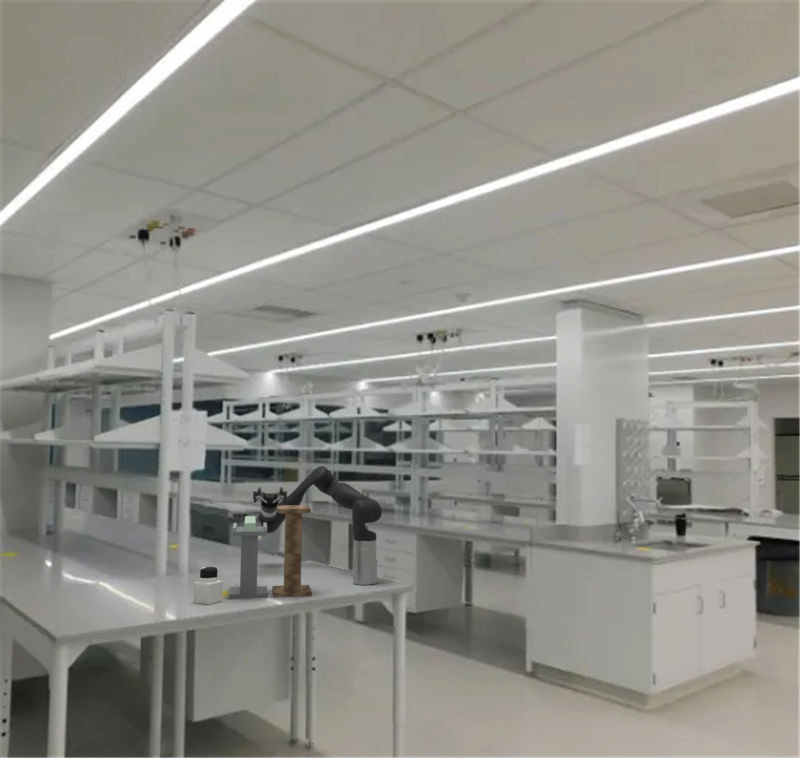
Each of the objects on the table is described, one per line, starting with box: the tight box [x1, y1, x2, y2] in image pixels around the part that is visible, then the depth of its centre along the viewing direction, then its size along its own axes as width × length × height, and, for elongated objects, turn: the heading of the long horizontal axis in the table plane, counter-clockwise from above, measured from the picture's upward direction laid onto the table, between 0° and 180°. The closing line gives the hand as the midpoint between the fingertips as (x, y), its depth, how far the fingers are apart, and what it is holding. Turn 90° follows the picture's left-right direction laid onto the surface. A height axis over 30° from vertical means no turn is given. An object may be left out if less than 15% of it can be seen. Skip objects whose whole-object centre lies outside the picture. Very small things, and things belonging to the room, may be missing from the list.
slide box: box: [243, 515, 257, 532], centre depth 282 cm, size 4×26×3 cm, turn 11°
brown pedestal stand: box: [271, 504, 313, 598], centre depth 280 cm, size 14×16×32 cm
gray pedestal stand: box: [228, 522, 269, 600], centre depth 276 cm, size 14×16×26 cm
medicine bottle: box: [193, 566, 223, 606], centre depth 262 cm, size 7×7×12 cm
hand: (270, 489), depth 311 cm, fingers open, 8 cm apart
